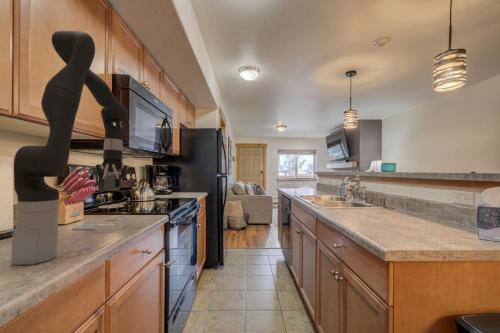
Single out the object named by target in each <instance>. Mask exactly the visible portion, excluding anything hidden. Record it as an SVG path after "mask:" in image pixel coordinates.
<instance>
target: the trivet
mask: <svg viewBox="0 0 500 333" xmlns="http://www.w3.org/2000/svg"><path fill="white" fill-rule="evenodd" d="M97 224H98V223H85V224H82V225H79V226H76V227H73V228H72V231H95V225H97Z"/></svg>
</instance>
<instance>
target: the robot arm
mask: <svg viewBox="0 0 500 333" xmlns="http://www.w3.org/2000/svg"><path fill="white" fill-rule="evenodd" d="M51 43H52V47H53V49H54V51H55V53H56V54H57V55H58V56H59V58H60V59H61V61H63V62H64V64H66V65H65V66H64V67H63V68H61V69H60V70H59V71H58V72H57V73H56V74H55V75H54V76H53V77H51V78H50V80H48V82H47V83H46V84H45V87H44V91H43V94H42V97H41V103H40V104H41V105H40V106H41V109H42V112H43V114H44V117H45V119H46V120H47V122H48V125H49V134H48V138H47V142H46V144H45V145H33V144H32V145H25V146H24V145H23V146H21V147H20V148H19V149H18V150H17V151H16V153H15V155H14V159H13V187H14V188H13V189H14V192H15V194H16V197H17V203H16V205H17V207H16V220H15V221H16V222H15V223H16V224H15V228H14V229H13V230H12V240H11V242H12V243H11V261H10V262H11V266H13V265H15V266H18V265H19V266H22V265H23V266H24V265H26V266H27V265H30V266H31V265H34V266H35V265H36V264H40V263H45V262H47V261H50V260H53V259H55V258H56V257H57V255H58V235H59V233H58V232H59V231H58V230H59V228H58V227H59V207H60V191H59V190H58V189H57V188H54V187H52V186H50V185H48V184H47V182H45V178H56V177H60V176H61V175H63V174H64V172H65V171H66V169H67V167H68V163H69V158H70V153H71V152H70V150H71V142H72V136H73V130H74V125H75V121H76V118H77V117H76V116H77V115H78V114H77V113H78V110H79V107H80V103H81V99H82V94H83V89H84V87H85V86H86V88H87V89H88V91H89V92H90V93H91V95H92V97H93V98H94V100H95V101H96V102H97V104H98V105H99V106H100V107H102V108H101V111H100V112H101V113H100V116H101V119H102V123H103V127H104V141H103V155H102V159H103V160H102V163H99V164H96V165H95V169H96V171H97V176H98V178H100V179H102V186H103V187H104V178H105V176H106V175H111V173H114V174H113V175H116V188H119V189H120V187H121V186H122V185H121V184H122V179H124V178H126V176H127V173H128V171H129V168H130V166H129V165H128V164H124V163H123V152H124V150H123V149H124V144H123V143H124V142H123V136H124V134H123V131H124V130H123V128H122V127H120V126H117V125H114V122H120V123H121V122H124V121H127V120H128V117H129V114H128V109H127V108H126V107H125V106H124V104H123V103H121V101H120V100H119V99H118V98H117V97H116V96H115V95H114V93H113V92H112V90H111V89H110V87H109V85H108V84H107V82H106V81H105V80H104V79H103V78H102V77H100V76H99V75H97V74H96V73H95V72H93V71H92V70H91V69H90V68H91V66H92V63H93V61H94V59H95V54H96V44H95V42H94V39H93V37H92V36H91V35H90V34H89V33H88V32H85V31H80V30H57V31H55V32H53V33H52V35H51ZM121 168H122V171H121ZM103 169H104V170H103Z"/></svg>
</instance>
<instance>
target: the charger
mask: <svg viewBox="0 0 500 333" xmlns="http://www.w3.org/2000/svg"><path fill="white" fill-rule="evenodd" d="M105 191H106V192H116V191H120V187H119V188H116V175H115V174H110V175H106V176H105V178H104V186H103V192H105Z"/></svg>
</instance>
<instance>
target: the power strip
mask: <svg viewBox="0 0 500 333" xmlns="http://www.w3.org/2000/svg"><path fill="white" fill-rule="evenodd" d="M96 224H97V225H95V230H94V233H115V232H117V231H119V230H120V229H123V228H124V227H127V226H129V225H131V224H132V217H130V216H129V215H114V216H111V217H109V218H106V219H103V220H99V221H98V222H97V223H96Z"/></svg>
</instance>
